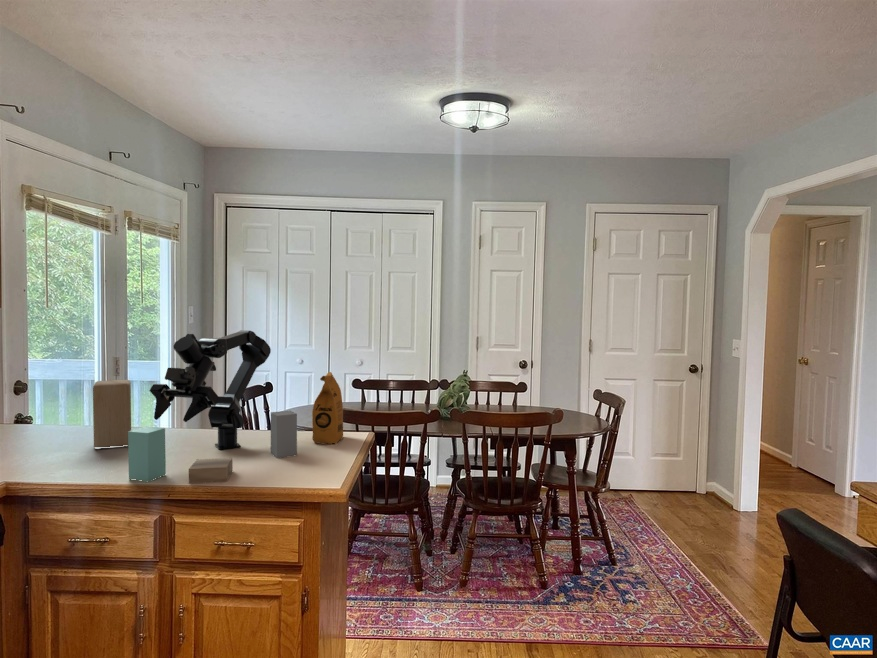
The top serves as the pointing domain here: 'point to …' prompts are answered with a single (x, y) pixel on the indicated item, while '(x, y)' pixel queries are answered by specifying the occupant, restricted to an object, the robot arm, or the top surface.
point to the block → (111, 412)
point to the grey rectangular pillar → (283, 434)
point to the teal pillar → (146, 453)
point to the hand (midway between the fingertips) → (169, 420)
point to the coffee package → (328, 412)
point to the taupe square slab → (210, 470)
